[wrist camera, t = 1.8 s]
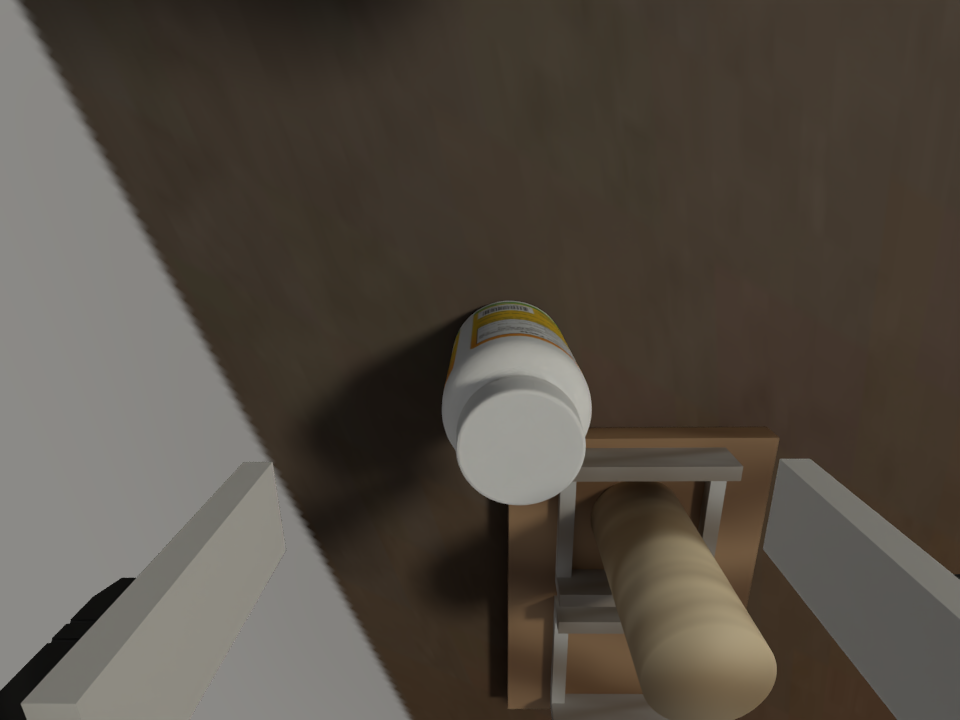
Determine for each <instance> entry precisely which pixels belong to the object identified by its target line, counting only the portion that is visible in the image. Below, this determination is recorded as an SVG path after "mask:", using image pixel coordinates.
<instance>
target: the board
mask: <svg viewBox="0 0 960 720" xmlns="http://www.w3.org/2000/svg"><path fill="white" fill-rule="evenodd" d="M585 441H586V450H585V457H584V461H583V464H582V466H581V469H580V471H579V473H578V474H577V476H576V477H575V479H574V480H573V481H572V482H571V484H570V485H569V486H568V487H567V488H565V489H564V490H563V491H562V492H560V493H559V494H557V495H556V496H554V497H552V498H550V499H548V500H545V501H543V502H540V503H535V504H530V505H509V504H508V637H507V696H508V709H551V715H552V720H668V719H666V718H664V717H663V716H661V715H660V714H658V713H657V712H655V711H654V710H653V709H652V708H651V707H650V705H649V704H648V703H647V701H646V700H645V698H644V696H643V693H642V690H641V687H640V683H639V680H638V677H637V673H636V670H635V667H634V664H633V660H632V657H631V654H630V651H629V647H628V644H627V641H626V638H625V634H624V631H623V628H622V625H621V621H620V618H619V615H618V612H617V608H616V605H615V602H614V598H613V595H612V592H611V589H610V585H609V582H608V579H607V576H606V572H605V569H604V566H603V563H602V559H601V556H600V553H599V550H598V546H597V543H596V540H595V536H594V533H593V530H592V526H591V513H592V509H593V507H594V504H595V502H596V501H597V499H598V498H599V497H600V496H601V494H602V493H603V492H605V491H606V490H607V489H608V488H610V487H611V486H613V485H615V484H617V483H619V482H622V481H658V482H660V483H662V484H664V485H665V486H667V487H668V488H670V489H671V490H672V491H673V492H674V494H675V495H676V497H677V498H678V500H679V501H680V503H681V505H682V506H683V508H684V509H685V511H686V513H687V514H688V516H689V518H690V519H691V521H692V522H693V524H694V526H695V527H696V529H697V531H698V532H699V534H700V535H701V537H702V539H703V540H704V542H705V544H706V545H707V547H708V548H709V550H710V552H711V553H712V555H713V557H714V558H715V560H716V562H717V563H718V565H719V566H720V568H721V570H722V571H723V573H724V575H725V576H726V578H727V579H728V581H729V583H730V584H731V586H732V588H733V589H734V591H735V592H736V594H737V596H738V597H739V599H740V601H741V602H742V604H743V605H744V607H745V609H746V608H747V603H748V598H749V592H750V587H751V582H752V577H753V572H754V567H755V562H756V556H757V551H758V546H759V541H760V536H761V531H762V525H763V520H764V515H765V510H766V505H767V500H768V494H769V489H770V484H771V479H772V474H773V469H774V464H775V458H776V453H777V448H778V443H779V437H778V436H777V435H775V434H774V433H773V432H772V431H771V430H770V429H768V428H767V427H649V428H588V431H587V434H586V436H585Z"/></svg>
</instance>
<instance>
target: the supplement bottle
mask: <svg viewBox="0 0 960 720" xmlns="http://www.w3.org/2000/svg"><path fill="white" fill-rule="evenodd" d="M591 412H592V405H591V396H590V392H589V389H588V386H587V383H586V381H585V378H584V376H583V374H582V372H581V370H580V368H579V367H578V365H577V363H576V361H575V359H574V357H573V355H572V353H571V351H570V349H569V347H568V346H567V344H566V342H565V340H564V338H563V336H562V334H561V332H560V330H559V329H558V327H557V326H556V324H555V323H554V321H553V320H552V319H551V318H550V317H549V316H548V315H547V314H546V313H545V312H543V311H542V310H540V309H539V308H537V307H535V306H532V305H530V304H527V303H523V302H519V301H500V302H495V303H492V304H489V305H486V306H484V307H482V308H480V309H479V310H477V311H476V312H474V313H473V314H472V315H471V316H470V317H469V318H468V319H467V320H466V321H465V322H464V323H463V325H462V326H461V328H460V330H459V332H458V334H457V336H456V339H455V342H454V346H453V350H452V356H451V360H450V365H449V369H448V374H447V378H446V382H445V386H444V392H443V398H442V420H443V425H444V429H445V432H446V434H447V437H448V439H449V441H450V443H451V444H452V446H453V447H454V449H455V450H456V456H457V461H458V464H459V467H460V469H461V472H462V473H463V475H464V477H465V478H466V480H467V481H468V482H469V483H470V485H471V486H472V487H473V488H474V489H475V490H477V491H478V492H479V493H481V494H482V495H484V496H485V497H487V498H489V499H491V500H494V501H496V502H500V503H504V504H509V505H530V504H535V503H540V502H543V501H545V500H548V499H550V498H552V497H554V496H556V495H557V494H559V493H560V492H562V491H563V490H564V489H565V488H567V487H568V486H569V485H570V484H571V482H572V481H573V480H574V479H575V477H576V476H577V474H578V473H579V471H580V469H581V466H582V464H583V461H584V457H585V450H586V441H585V436H586V434H587V431H588V428H589V425H590V421H591Z"/></svg>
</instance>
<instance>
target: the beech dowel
mask: <svg viewBox="0 0 960 720" xmlns="http://www.w3.org/2000/svg"><path fill="white" fill-rule="evenodd" d="M591 526H592V530H593V533H594V536H595V540H596V543H597V546H598V550H599V553H600V556H601V559H602V563H603V566H604V569H605V572H606V576H607V579H608V582H609V585H610V589H611V592H612V595H613V598H614V602H615V605H616V608H617V612H618V615H619V618H620V621H621V625H622V628H623V631H624V634H625V638H626V641H627V644H628V647H629V651H630V654H631V657H632V660H633V664H634V667H635V670H636V673H637V677H638V680H639V683H640V687H641V690H642V693H643V696H644V698H645V700H646V701H647V703H648V704H649V705H650V707H651V708H652V709H653V710H654V711H655V712H657V713H658V714H660V715H661V716H663V717H664V718H666V719H668V720H735V719H737V718H739V717H742V716H743V715H745V714H747V713H749V712H750V711H752V710H753V709H755V708H756V707H757V706H758V705H759V704H760V703H762V701H763V700H764V699H765V698H766V697H767V696H768V694H769V693H770V691H771V689H772V687H773V685H774V682H775V679H776V674H777V665H776V661H775V657H774V655H773V653H772V651H771V649H770V648H769V646H768V645H767V643H766V641H765V640H764V638H763V636H762V635H761V633H760V631H759V630H758V628H757V627H756V625H755V623H754V622H753V620H752V618H751V617H750V615H749V614H748V612H747V610H746V609H745V607H744V605H743V604H742V602H741V601H740V599H739V597H738V596H737V594H736V592H735V591H734V589H733V588H732V586H731V584H730V583H729V581H728V579H727V578H726V576H725V575H724V573H723V571H722V570H721V568H720V566H719V565H718V563H717V562H716V560H715V558H714V557H713V555H712V553H711V552H710V550H709V548H708V547H707V545H706V544H705V542H704V540H703V539H702V537H701V535H700V534H699V532H698V531H697V529H696V527H695V526H694V524H693V522H692V521H691V519H690V518H689V516H688V514H687V513H686V511H685V509H684V508H683V506H682V505H681V503H680V501H679V500H678V498H677V497H676V495H675V494H674V492H673V491H672V490H671V489H670V488H668V487H667V486H665V485H664V484H662V483H660V482H658V481H622V482H619V483H617V484H615V485H613V486H611V487H610V488H608V489H607V490H606V491H605V492H603V493H602V494H601V496H600V497H599V498H598V499H597V501H596V502H595V504H594V507H593V509H592V513H591Z"/></svg>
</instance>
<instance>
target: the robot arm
mask: <svg viewBox="0 0 960 720" xmlns="http://www.w3.org/2000/svg"><path fill="white" fill-rule="evenodd" d="M763 550H764V551H765V552H766V553H767V555H768V556H769V557H770V559H771V560H772V561H773V562H774V564H775V565H776V566H777V567H778V569H779V570H780V571H781V572H782V574H783V575H784V576H785V578H786V579H787V580H788V581H789V583H790V584H791V585H792V586H793V588H794V589H795V590H796V592H797V593H798V594H799V595H800V597H801V598H802V599H803V600H804V602H805V603H806V604H807V606H808V607H809V608H810V609H811V611H812V612H813V613H814V614H815V616H816V617H817V618H818V619H819V621H820V622H821V623H822V625H823V626H824V627H825V628H826V630H827V631H828V632H829V633H830V635H831V636H832V637H833V639H834V640H835V641H836V642H837V644H838V645H839V646H840V647H841V649H842V650H843V651H844V653H845V654H846V655H847V656H848V658H849V659H850V660H851V661H852V663H853V664H854V665H855V666H856V668H857V669H858V670H859V672H860V673H861V674H862V675H863V677H864V678H865V679H866V680H867V682H868V683H869V684H870V686H871V687H872V688H873V689H874V691H875V692H876V693H877V694H878V696H879V697H880V698H881V700H882V701H883V702H884V703H885V705H886V706H887V707H888V708H889V710H890V711H891V712H892V714H893V715H894V716H895V717H896V719H897V720H960V574H952V573H951V572H950V571H948V570H947V569H946V568H945V567H943V566H942V565H941V564H940V563H938V562H937V561H936V560H935V559H934V558H932V557H931V556H930V555H929V554H927V553H926V552H925V551H924V550H922V549H921V548H920V547H919V546H917V545H916V544H915V543H914V542H912V541H911V540H910V539H909V538H907V537H906V536H905V535H904V534H903V533H901V532H900V531H899V530H898V529H896V528H895V527H894V526H893V525H891V524H890V523H889V522H888V521H886V520H885V519H884V518H883V517H881V516H880V515H879V514H878V513H876V512H875V511H874V510H873V509H872V508H870V507H869V506H868V505H867V504H865V503H864V502H863V501H862V500H860V499H859V498H858V497H857V496H855V495H854V494H853V493H852V492H850V491H849V490H848V489H847V488H846V487H844V486H843V485H842V484H841V483H839V482H838V481H837V480H836V479H834V478H833V477H832V476H831V475H829V474H828V473H827V472H826V471H824V470H823V469H822V468H821V467H819V466H818V465H817V464H816V463H815V462H813V461H812V460H811V459H780V461H779V466H778V471H777V477H776V482H775V487H774V493H773V498H772V503H771V509H770V514H769V520H768V525H767V530H766V536H765V541H764V546H763ZM285 551H286V546H285V539H284V533H283V527H282V520H281V514H280V508H279V501H278V495H277V488H276V482H275V475H274V469H273V462H243V463H242V464H241V465H240V466H239V467H238V468H237V470H236V471H235V472H234V473H233V474H232V475H231V476H230V477H229V478H228V479H227V481H225V483H224V484H223V485H222V486H221V487H220V488H219V489H218V490H217V491H216V493H214V494H213V496H212V497H211V498H210V499H209V500H208V501H207V502H206V503H205V504H204V505H203V506H202V507H201V509H200V510H199V511H198V512H197V513H196V514H195V515H194V516H193V517H192V518H191V519H190V521H189V522H188V523H187V524H186V525H185V526H184V527H183V528H182V529H181V530H180V531H179V533H177V535H176V536H175V537H174V538H173V539H172V540H171V541H170V542H169V543H168V544H167V545H166V547H165V548H164V549H163V550H162V551H161V552H160V553H159V554H158V555H157V556H156V558H154V560H153V561H152V562H151V563H150V564H149V565H148V566H147V567H146V568H145V569H144V570H143V572H142V573H141V574H140V575H139V576H138V577H137V578H121V579H119V580H118V581H117V582H115V583H113V584H112V585H110V586H109V587H107V588H106V589H104V590H103V591H101V592H100V593H98V594H97V595H95V596H94V597H92V598H91V600H90V601H89V602H88V603H87V604H86V605H85V606H84V607H83V608H82V609H81V610H80V611H79V612H78V613H77V614H76V615H75V616H74V617H73V618H72V619H71V622H70V624H66V625H65V626H64V627H63V628H62V629H61V630H60V631H59V632H58V633H57V634H56V635H55V636H54V637H53V638H52V642H51V643H47V644H46V645H45V646H44V647H43V648H42V649H41V650H40V651H39V652H38V653H37V654H36V655H35V656H34V657H33V658H32V659H31V660H30V661H29V662H28V663H27V664H26V665H25V666H24V667H23V668H22V669H21V670H20V671H19V672H18V673H17V674H16V676H15V677H14V678H12V680H10V682H9V683H8V684H7V685H6V686H5V687H4V688H3V689H2V690H1V691H0V720H190V718H191V716H192V715H193V713H194V711H195V710H196V708H197V706H198V704H199V702H200V700H201V699H202V697H203V695H204V694H205V692H206V690H207V688H208V687H209V685H210V683H211V682H212V680H213V678H214V676H215V674H216V673H217V671H218V669H219V667H220V665H221V664H222V662H223V660H224V659H225V657H226V655H227V653H228V652H229V650H230V648H231V646H232V645H233V643H234V641H235V639H236V638H237V636H238V634H239V632H240V630H241V629H242V627H243V625H244V624H245V622H246V620H247V618H248V617H249V615H250V613H251V611H252V610H253V608H254V606H255V604H256V603H257V601H258V599H259V597H260V595H261V594H262V592H263V590H264V589H265V587H266V585H267V583H268V581H269V580H270V578H271V576H272V574H273V573H274V571H275V569H276V567H277V566H278V564H279V562H280V560H281V559H282V557H283V555H284V553H285Z"/></svg>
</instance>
